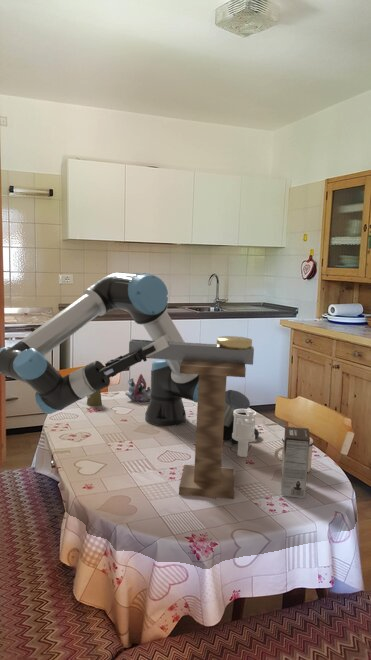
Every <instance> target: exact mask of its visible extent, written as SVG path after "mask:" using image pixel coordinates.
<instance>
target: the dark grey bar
mask: <svg viewBox="0 0 371 660" xmlns="http://www.w3.org/2000/svg"><path fill="white" fill-rule="evenodd" d="M153 342H155V341H153V340H148V339H147V340H146V339H132V338H131V340H130V341H129V342H128V353H129V355H130V354H133V353H135V352H137V351H138V350H142V348H143V347H145V346H147V345H149V344H151V343H153ZM167 343H168V345H169V347H167V348H165V349H163V350H161V351H159V352H157V353H155V354H153V355H151V356H149V357H147V358H146V359H151V360H153V359H155V360H157V359H168V360H184V361H201V362H217V363H233V364H245V365H251V366H253V365H254V355H255V354H254V353H255V348H254V346H253V339H252V338H248V337H243V336H236V335H235V336H234V335H231V336H230V335H224V336H218V337H216V343H215V344H214V343H199V342H185V341H184V342H167ZM142 351H143V350H142ZM145 357H146V356H145Z"/></svg>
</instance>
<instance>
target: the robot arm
mask: <svg viewBox="0 0 371 660" xmlns="http://www.w3.org/2000/svg"><path fill="white" fill-rule="evenodd" d="M168 295H169V291H168V289H167V285H166V283H165V282H164V281H163V280H162V279H161V278H160V277H158V276H156V275H153V274H150V273H145V272H144V273H136V272H126V271H117V272H114V273H111V274H108V275H106V276H104V277H103V278H100V279H99V280H97V281H96V282H94V283H92V284H91V285H90V286H89V287H87V288H86V289H84V290H83V293H82V295H81V297H79V298H78V299H76V300H74V302H72V303H70V304H68V306H66V307H65V308H63V309H61V311H59V312H58V313H57V314H56V315H54V316H52V317H51V318H49V320H47V321H46V322H44V323H43V324H41V325H40V326H39V327H37V328H36V329H35V330H34V331H32V332H31V333H30V334H27V335H26V336H25V337H23V338H22V339H21V340H20V341H18V342H17V343H15V344H14V345H12V346H5V347H4V346H3V347H1V348H0V374H2V375H3V376H6V377H8V378H9V377H10V378H12V379H15V380H16V381H19V382H22V383H25V384H27V385H28V386H30V387H31V388H32V389H33V390H34V391H35V394H34V395H35V396H34V399H35V403H36V405H37V406H38V407H39V409H40V411H41V412H42V413H44V414H46V415H51V414H54V413H56V412H59V411H62V410H64V409H65V408H67V407H69V406H70V405H72V404H74V403H76V402H78V401H80V400H82V399H84V398H87V399H88V398H90V395H91V394H93V393H95V392H96V390H97V391H99V390H100V391H101V390H103V389H104V388H107V387H109V386H110V385H111V380H110V378H113V377H115V376H117V375H118V374H119V373H122V372H124V370H126V369H128V368H130V367H133V366H134V365H136V364H138V363H141V362H142V361H143V362H146V361H147V359H148V358H147V357H149V356H151V355H153V354H155V353H157V352H159V351H161V350H163V349H165V348H167V347H169V345H168V343H167V342H185V341H184V339H183V337H182V335H181V333H180V332H179V330H178V329H177V327H176V325H175V324H174V321H173V320H172V318H171V316H170V314H169V313H168V311H167V310H168V301H169V297H168ZM114 310H122V311H126V312H128V314H129V315H130V316H131V318H132V319H133V321H134V322H135V323H136V324H137V325H141V326H143V327H144V330H145V331H146V332H147V333H148V336H149V337H150V338H151V341H155V342H153V343H151V344H149V345H147V346H145V347H143V348H142V350H143V351H142V350H138V351H137V352H135V353H133V354H130V355H129V352H128V353H126V354H124V355H120V356H118V357H115V358H114V359H110V360H108V361H106V363H104V365H103V363H102V362H101V361H99V360H94V361H93V362H90V363H89V364H87V365H85V367H84V366H82V367H80V368H78V369H77V370H73V371H72V372H70V373H69V374H66V375H65V376H63V375H62V374H61V373H59V371H58V370H57V369H56V368H55V367H54V366H53V365H52V364H51V363H50V361H49V360H48V359H47V358H46V357H45V356H46V355H47V354H49V353H50V352H52V351H53V350H54V349H55V348H57V347H58V346H59V345H61V344H62V343H64V342H65V341H67V339H68V338H70V337H71V336H73V335H74V334H75V333H77V332H78V331H79V330H81V329H82V328H83V327H85V326H86V325H87V324H89V323H90V322H91V321H92V320H94V319H95V318H96V317H98V316H99V317H102V316H104V315H106V314H107V313H108V312H110V311H114ZM145 356H146V357H145ZM181 362H182V360H168V359H155V360H154V361H152V363H151V370H150V389H151V398H150V399H149V401H148V405H147V408H146V411H145V414H144V415H145V416H144V417H145V418H144V420H145V421H146V422H147V423H149V424H152V425H155V426H161V427H172V426H178V425H179V426H180V425H182V424H184V423H185V422H186V420H187V413H186V409H185V406H184V403H183V399H185V400H188V401H193V402H194V403H197V404H198V385H199V374H184V373H180V364H181Z"/></svg>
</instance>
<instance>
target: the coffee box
mask: <svg viewBox="0 0 371 660" xmlns="http://www.w3.org/2000/svg"><path fill="white" fill-rule="evenodd" d="M283 436H284V448H283V461H282V467H281V478H280V479H281V481H280V482H281V483H280V484H281V485H280V486H281V487H280V488H281V489H280V491H281V492H280V493H281V494H280V495H284V496H283V497H286V496H291V497H290V498H294V497H299V498H298V499H302V498H305V499H306V492H307V479H308V473H307V469H308V458H309V446H310V430H309V428H306V427H294V426H285V427H284V435H283Z"/></svg>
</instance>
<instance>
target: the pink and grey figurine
mask: <svg viewBox="0 0 371 660" xmlns="http://www.w3.org/2000/svg"><path fill="white" fill-rule="evenodd" d="M127 384H129V385H128V392H126V393H125V394H124V395H126V397H128V398H129V399H130V400H131V402H136V403H137V402H140V403H145V402H149V401H150V399H151V386H147V382H146V379H145V378H144V376H143V374H142V373H140V374H139V376H138V377H137V382H136V381H135V382H134V378H133V377H132V378H131V377H129V378H128V381H127Z"/></svg>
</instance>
